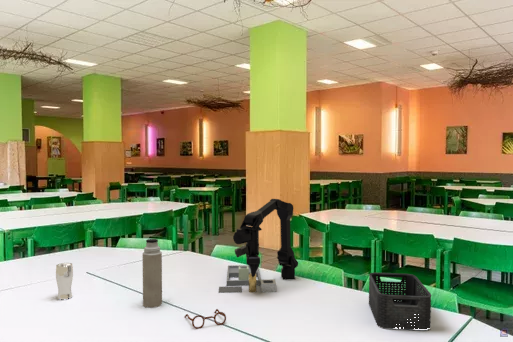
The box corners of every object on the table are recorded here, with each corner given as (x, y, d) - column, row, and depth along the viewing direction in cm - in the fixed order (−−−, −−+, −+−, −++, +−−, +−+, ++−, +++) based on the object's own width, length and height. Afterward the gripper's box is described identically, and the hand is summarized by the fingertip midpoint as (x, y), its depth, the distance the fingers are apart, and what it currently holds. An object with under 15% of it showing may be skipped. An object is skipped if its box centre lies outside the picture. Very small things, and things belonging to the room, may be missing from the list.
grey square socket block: (274, 287, 202) (274, 279, 201) (276, 291, 195) (276, 283, 194) (260, 287, 201) (260, 279, 201) (261, 292, 194) (261, 284, 194)
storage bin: (433, 332, 150) (433, 295, 150) (378, 329, 153) (378, 293, 152) (413, 304, 179) (413, 273, 178) (367, 302, 181) (367, 272, 181)
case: (258, 268, 235) (258, 264, 235) (261, 285, 204) (261, 280, 204) (227, 269, 234) (227, 264, 234) (226, 285, 204) (226, 280, 203)
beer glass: (76, 296, 188) (76, 263, 188) (63, 301, 182) (63, 267, 181) (65, 294, 191) (65, 262, 190) (52, 299, 185) (52, 265, 184)
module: (248, 279, 214) (248, 265, 214) (248, 282, 209) (248, 267, 209) (238, 279, 214) (238, 265, 214) (238, 282, 209) (238, 267, 209)
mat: (241, 286, 202) (241, 286, 202) (242, 292, 194) (242, 291, 194) (219, 287, 201) (219, 286, 201) (218, 292, 193) (218, 292, 193)
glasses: (192, 330, 152) (192, 317, 152) (184, 318, 164) (183, 305, 164) (226, 325, 157) (226, 312, 157) (215, 313, 169) (215, 301, 169)
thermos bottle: (149, 300, 183) (149, 237, 182) (165, 302, 181) (165, 238, 180) (139, 306, 176) (138, 240, 175) (155, 308, 173) (154, 241, 172)
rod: (256, 289, 197) (256, 273, 197) (256, 292, 194) (256, 275, 194) (248, 290, 197) (248, 273, 197) (248, 292, 194) (248, 275, 193)
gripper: (235, 237, 204) (235, 268, 204) (235, 245, 185) (235, 280, 186) (258, 236, 204) (258, 268, 205) (260, 245, 186) (260, 279, 186)
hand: (252, 273), depth 195 cm, fingers open, 9 cm apart
